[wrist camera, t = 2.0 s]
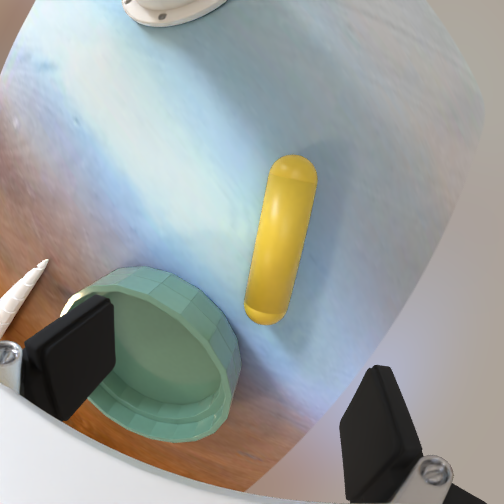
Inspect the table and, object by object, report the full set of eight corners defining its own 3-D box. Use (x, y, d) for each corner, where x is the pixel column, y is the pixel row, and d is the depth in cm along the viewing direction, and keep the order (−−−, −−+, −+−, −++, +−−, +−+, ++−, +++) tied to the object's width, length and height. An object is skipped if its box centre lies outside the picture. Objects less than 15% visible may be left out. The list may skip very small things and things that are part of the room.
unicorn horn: (66, 286, 29) (39, 301, 24) (4, 337, 34) (-13, 350, 30) (47, 250, 28) (19, 262, 23) (-9, 313, 34) (-27, 324, 29)
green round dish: (85, 247, 27) (50, 261, 22) (258, 291, 26) (248, 320, 20) (94, 379, 32) (73, 403, 27) (227, 426, 30) (218, 460, 25)
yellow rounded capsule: (275, 152, 22) (271, 147, 19) (319, 161, 22) (324, 159, 19) (244, 308, 26) (236, 327, 23) (283, 317, 26) (281, 337, 22)
